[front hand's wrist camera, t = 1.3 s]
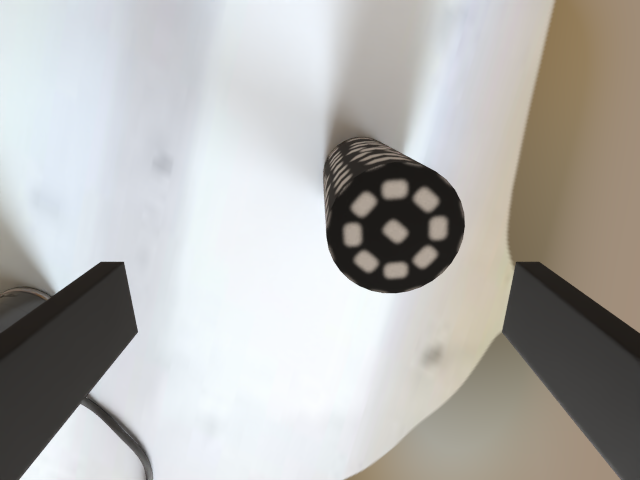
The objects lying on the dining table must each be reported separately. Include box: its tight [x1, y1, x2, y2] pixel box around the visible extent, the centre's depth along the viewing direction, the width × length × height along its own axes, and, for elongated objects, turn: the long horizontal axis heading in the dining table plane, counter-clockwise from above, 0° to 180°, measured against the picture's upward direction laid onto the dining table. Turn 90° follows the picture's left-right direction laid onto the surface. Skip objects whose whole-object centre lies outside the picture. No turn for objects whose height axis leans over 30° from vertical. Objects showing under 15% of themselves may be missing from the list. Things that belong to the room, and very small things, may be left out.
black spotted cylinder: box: [323, 137, 465, 293], centre depth 31 cm, size 8×8×20 cm
